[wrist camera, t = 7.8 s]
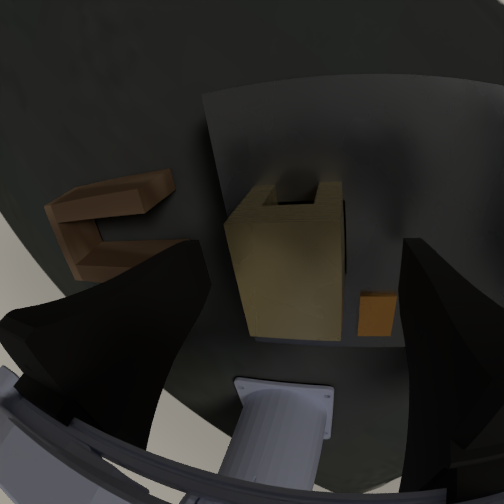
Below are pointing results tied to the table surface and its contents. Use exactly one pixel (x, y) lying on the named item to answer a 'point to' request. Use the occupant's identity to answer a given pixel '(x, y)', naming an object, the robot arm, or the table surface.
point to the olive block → (290, 263)
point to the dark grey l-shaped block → (375, 176)
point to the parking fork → (107, 205)
